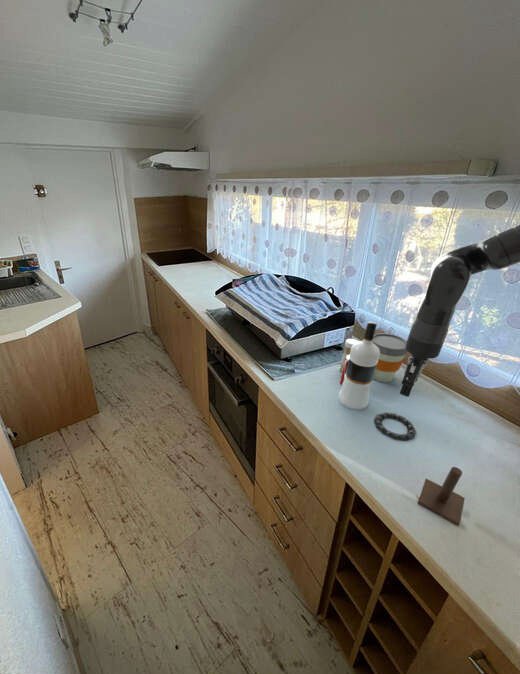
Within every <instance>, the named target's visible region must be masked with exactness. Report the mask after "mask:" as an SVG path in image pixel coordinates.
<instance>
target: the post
mask: <svg viewBox="0 0 520 674" xmlns="http://www.w3.org/2000/svg"><path fill="white" fill-rule="evenodd" d="M462 475H463V471H462V470H461V469H460V468H458V467H457V466H452V467H451V468H450V470H449V472H448V473H447V475H446V478H445V479H444V481H443V484H442V485H440V484H438V483H436V482H435V481H432V480H430V479H429V478H425V480H424V483H423V485H422V489H421V492H420V495H419V497H418V500H417V504H418V505H419V506H421V507H423V508H425V509H426V510H428V511H430V512H432V513H434V514H435V515H437V516H439V517H441V518H442V519H445V520H446V521H448V522H449V523H451V524H454V525H455V526H457V527H459V525H460V524H461V520H462V514H463V508H464V504H465V499H466V498H465V497H464V496H462V495H460V494H458V493H456V492H454V490H455V488H456V486H457V484H458V482H459V480H460V479H461V477H462Z"/></svg>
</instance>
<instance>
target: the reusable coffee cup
mask: <svg viewBox="0 0 520 674" xmlns="http://www.w3.org/2000/svg"><path fill="white" fill-rule="evenodd" d="M406 342H407V339H405V338H403V337H401V336H399V335H395V334H393V333H383V332H382V333H375V334H374V337H373V342H372V343H373V344H375V345H376V346H377V347H378V348H379V350H380V356H379V359H378V363H377V364H376V368H375V372H374V375H373V378H374V379H373V380H375V379H376V380H375V381H378V380H380V381H379V382H382V381H389V382H391V381H393V379H394V377H395V375H396V373H397V372H398V371H399V370H400V368H401V366H402V364H403V362H404V360H405V356H406V355H407V354H408V351H407V350H406V348H405V345H406Z"/></svg>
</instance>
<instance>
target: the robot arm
mask: <svg viewBox="0 0 520 674" xmlns="http://www.w3.org/2000/svg"><path fill="white" fill-rule="evenodd" d="M517 264H520V224H518V225H517V226H514V227H511V228H509V229H506V230H505V231H502V232H499V233H497V234H495V235H492V236H490V237H489V238H486V239H483V240H482V241H478V242H474V243H472V244H469V245H465V246H461V247H459V248H456V249H453V250H451V251H448V252H446V253H444V254H442V255H440V256H439V257H437V258H436V259H435V260H434V261H433V263H432V265H431V267H430V268H431V269H430V278H429V281H428V285H427V289H426V292H425V295H424V296H423V297H422V298H421V301H420V304H419V307H418V309H417V313H416V316H415V318H414V320H413V322H412V324H411V327H410V330H409V333H408V337H407V339H406V341H407V342H406V345H405V348H406V350H407V353H409V354H410V356H409V357H408V359H407V362H406V363H407V365H406V367H405V369H404V371H403V372H404V375H403V378H402V380H401V388H400V391H399V394H400V395H401V396H404V397H406V398H408V397H410V395H411V392H412V389H413V387H414V386H415V385H416V383H417V381H418V379H420V377H421V374H422V372H423V370H424V369H425V368H426V365H427V364H428V361H429V360H430V359H436V358H438V357H439V356H440V353H441V351H442V349H443V346H444V343H445V340H446V338H447V337H448V336H447V335H448V333H449V330H450V324H451V322H452V319H453V316H454V315H455V311H456V308H457V304H458V303H459V302H460V300H461V298H462V297H463V294H464V292H465V291H466V289H467V287H468V285H469V283H470V280H471V276H472V275H475V274H479V273H481V272H485V271H488V270H489V271H490V270H491V271H498V270H503V269H506V268H509V267H511V266H515V265H517Z"/></svg>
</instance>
